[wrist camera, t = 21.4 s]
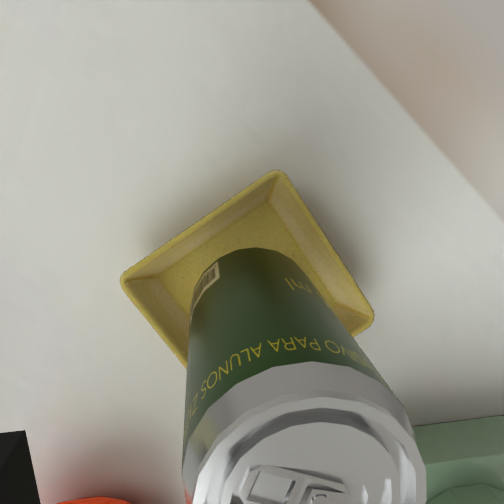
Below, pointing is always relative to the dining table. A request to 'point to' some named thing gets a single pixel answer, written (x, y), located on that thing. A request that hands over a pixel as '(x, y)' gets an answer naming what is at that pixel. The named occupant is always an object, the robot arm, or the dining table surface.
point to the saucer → (241, 237)
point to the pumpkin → (96, 501)
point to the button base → (463, 461)
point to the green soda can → (286, 397)
